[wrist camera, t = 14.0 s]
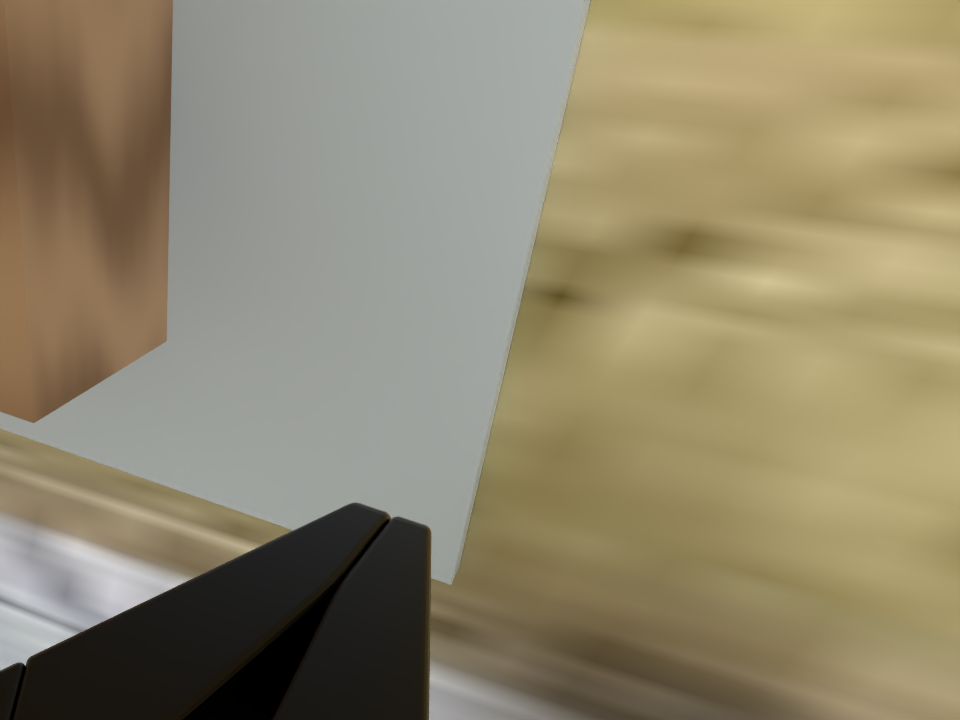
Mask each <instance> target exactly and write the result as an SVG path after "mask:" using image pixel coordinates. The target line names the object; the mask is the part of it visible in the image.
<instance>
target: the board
mask: <svg viewBox="0 0 960 720" xmlns="http://www.w3.org/2000/svg"><path fill="white" fill-rule="evenodd" d="M590 1H591V0H173V29H172V83H171V136H170V190H169V244H168V298H167V341H166V342H165V343H163V344H161V345H160V346H158V347H157V348H155V349H153V350H152V351H150V352H149V353H147V354H145V355H144V356H142V357H140V358H139V359H137V360H136V361H134V362H132V363H131V364H129V365H127V366H126V367H124V368H123V369H121V370H119V371H118V372H116V373H115V374H113V375H111V376H110V377H108V378H106V379H105V380H103V381H102V382H100V383H98V384H97V385H95V386H94V387H92V388H90V389H89V390H87V391H85V392H84V393H82V394H81V395H79V396H77V397H76V398H74V399H73V400H71V401H69V402H68V403H66V404H64V405H63V406H61V407H60V408H58V409H56V410H55V411H53V412H51V413H50V414H48V415H47V416H45V417H43V418H42V419H40V420H39V421H37V422H35V423H31V422H28V421H26V420H23V419H20V418H17V417H14V416H11V415H8V414H5V413H3V412H0V429H3V430H5V431H8V432H11V433H14V434H17V435H20V436H23V437H26V438H29V439H31V440H34V441H37V442H40V443H43V444H46V445H49V446H52V447H54V448H57V449H60V450H63V451H66V452H69V453H72V454H75V455H78V456H80V457H83V458H86V459H89V460H92V461H95V462H98V463H101V464H104V465H106V466H109V467H112V468H115V469H118V470H121V471H124V472H127V473H129V474H132V475H135V476H138V477H141V478H144V479H147V480H150V481H153V482H155V483H158V484H161V485H164V486H167V487H170V488H173V489H176V490H178V491H181V492H184V493H187V494H190V495H193V496H196V497H199V498H202V499H204V500H207V501H210V502H213V503H216V504H219V505H222V506H225V507H227V508H230V509H233V510H236V511H239V512H242V513H245V514H248V515H251V516H253V517H256V518H259V519H262V520H265V521H268V522H271V523H274V524H277V525H279V526H282V527H285V528H288V529H291V530H295V529H297V528H299V527H302V526H304V525H306V524H308V523H310V522H312V521H314V520H316V519H318V518H320V517H322V516H324V515H327V514H329V513H331V512H333V511H335V510H337V509H339V508H341V507H343V506H345V505H347V504H350V503H355V502H356V503H361V504H364V505H367V506H370V507H373V508H376V509H379V510H382V511H385V512H387V513H388V514H389V515H390V517H391V518H393V517H397V516H399V517H403V518H406V519H409V520H412V521H415V522H418V523H421V524H424V525H426V526H428V527H429V528H430V530H431V537H432V538H431V578H432V579H435V580H438V581H441V582H444V583H447V584H450V585H451V584H452V582H453V580H454V578H455V576H456V573H457V571H458V569H459V566H460V561H461V557H462V553H463V548H464V544H465V540H466V535H467V531H468V527H469V522H470V518H471V514H472V510H473V505H474V501H475V497H476V492H477V488H478V484H479V479H480V475H481V471H482V466H483V462H484V458H485V453H486V449H487V445H488V441H489V436H490V432H491V428H492V423H493V419H494V415H495V410H496V406H497V402H498V397H499V393H500V389H501V385H502V380H503V376H504V372H505V367H506V363H507V359H508V354H509V350H510V346H511V341H512V337H513V333H514V328H515V324H516V320H517V316H518V311H519V307H520V303H521V298H522V294H523V290H524V285H525V281H526V277H527V272H528V268H529V264H530V260H531V255H532V251H533V247H534V242H535V238H536V234H537V229H538V225H539V221H540V216H541V212H542V208H543V204H544V199H545V195H546V191H547V186H548V182H549V178H550V173H551V169H552V165H553V160H554V156H555V152H556V147H557V143H558V139H559V135H560V130H561V126H562V122H563V117H564V113H565V109H566V104H567V100H568V96H569V91H570V87H571V83H572V79H573V74H574V70H575V66H576V61H577V57H578V53H579V48H580V44H581V40H582V35H583V31H584V27H585V22H586V18H587V14H588V10H589V5H590Z"/></svg>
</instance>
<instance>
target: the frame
mask: <svg viewBox="0 0 960 720" xmlns="http://www.w3.org/2000/svg"><path fill="white" fill-rule="evenodd" d="M172 29H173V0H0V412H3V413H5V414H8V415H11V416H14V417H17V418H20V419H23V420H26V421H28V422H31V423H35V422H37V421H39V420H40V419H42V418H43V417H45V416H47V415H48V414H50V413H51V412H53V411H55V410H56V409H58V408H60V407H61V406H63V405H64V404H66V403H68V402H69V401H71V400H73V399H74V398H76V397H77V396H79V395H81V394H82V393H84V392H85V391H87V390H89V389H90V388H92V387H94V386H95V385H97V384H98V383H100V382H102V381H103V380H105V379H106V378H108V377H110V376H111V375H113V374H115V373H116V372H118V371H119V370H121V369H123V368H124V367H126V366H127V365H129V364H131V363H132V362H134V361H136V360H137V359H139V358H140V357H142V356H144V355H145V354H147V353H149V352H150V351H152V350H153V349H155V348H157V347H158V346H160V345H161V344H163V343H165V342H166V341H167V298H168V244H169V190H170V136H171V83H172Z"/></svg>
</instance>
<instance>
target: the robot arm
mask: <svg viewBox="0 0 960 720" xmlns="http://www.w3.org/2000/svg"><path fill="white" fill-rule="evenodd" d="M431 538H432V537H431V530H430V528H429V527H428V526H426V525H424V524H421V523H418V522H415V521H412V520H409V519H406V518H403V517H399V516H397V517H393V518H391V517H390V515H389V514H388V513H387V512H385V511H382V510H379V509H376V508H373V507H370V506H367V505H364V504H361V503H356V502H355V503H350V504H347V505H345V506H343V507H341V508H339V509H337V510H335V511H333V512H331V513H329V514H327V515H324V516H322V517H320V518H318V519H316V520H314V521H312V522H310V523H308V524H306V525H304V526H302V527H299V528H297V529H295V530H293V531H291V532H289V533H287V534H285V535H283V536H281V537H279V538H277V539H274V540H272V541H270V542H268V543H266V544H264V545H262V546H260V547H258V548H256V549H254V550H252V551H250V552H247V553H245V554H243V555H241V556H239V557H237V558H235V559H233V560H231V561H229V562H227V563H225V564H222V565H220V566H218V567H216V568H214V569H212V570H210V571H208V572H206V573H204V574H202V575H200V576H197V577H195V578H193V579H191V580H189V581H187V582H185V583H183V584H181V585H179V586H177V587H175V588H172V589H170V590H168V591H166V592H164V593H162V594H160V595H158V596H156V597H154V598H152V599H150V600H147V601H145V602H143V603H141V604H139V605H137V606H135V607H133V608H131V609H129V610H127V611H125V612H122V613H120V614H118V615H116V616H114V617H112V618H110V619H108V620H106V621H104V622H102V623H100V624H97V625H95V626H93V627H91V628H89V629H87V630H85V631H83V632H81V633H79V634H77V635H75V636H73V637H70V638H68V639H66V640H64V641H62V642H60V643H58V644H56V645H54V646H52V647H50V648H48V649H45V650H43V651H41V652H39V653H37V654H35V655H33V656H31V657H30V658H29V659H28V660H27V663H26V667H25V665H24V664H23V663H16V664H13V665H11V666H9V667H7V668H5V669H3V670H1V671H0V720H429V675H430V606H431Z"/></svg>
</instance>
